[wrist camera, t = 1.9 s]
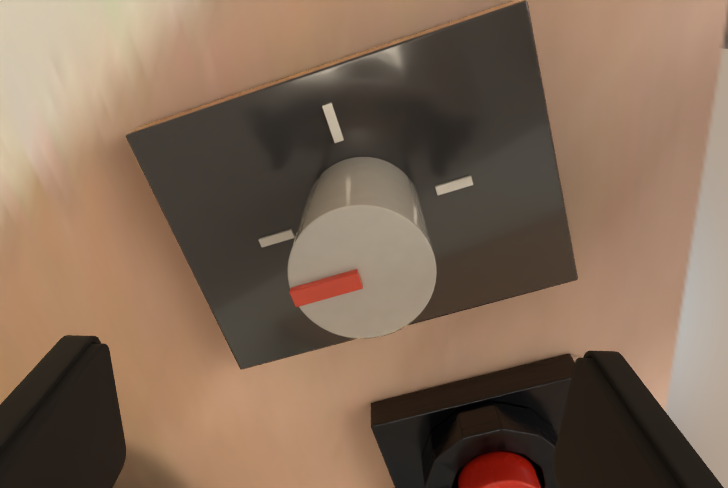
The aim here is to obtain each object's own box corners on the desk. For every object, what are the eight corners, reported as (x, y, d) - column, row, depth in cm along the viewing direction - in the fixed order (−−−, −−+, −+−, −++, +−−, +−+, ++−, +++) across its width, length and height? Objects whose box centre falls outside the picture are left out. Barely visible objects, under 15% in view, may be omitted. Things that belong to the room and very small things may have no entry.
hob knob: (402, 141, 20) (414, 188, 15) (433, 246, 22) (454, 323, 16) (290, 176, 20) (262, 234, 15) (328, 275, 22) (315, 359, 17)
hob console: (513, 0, 20) (529, -1, 18) (562, 259, 24) (580, 282, 22) (144, 124, 22) (122, 136, 20) (249, 345, 26) (239, 373, 24)
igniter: (569, 353, 26) (598, 401, 23) (591, 459, 29) (619, 516, 25) (370, 402, 27) (370, 455, 24) (408, 500, 30) (413, 559, 27)
